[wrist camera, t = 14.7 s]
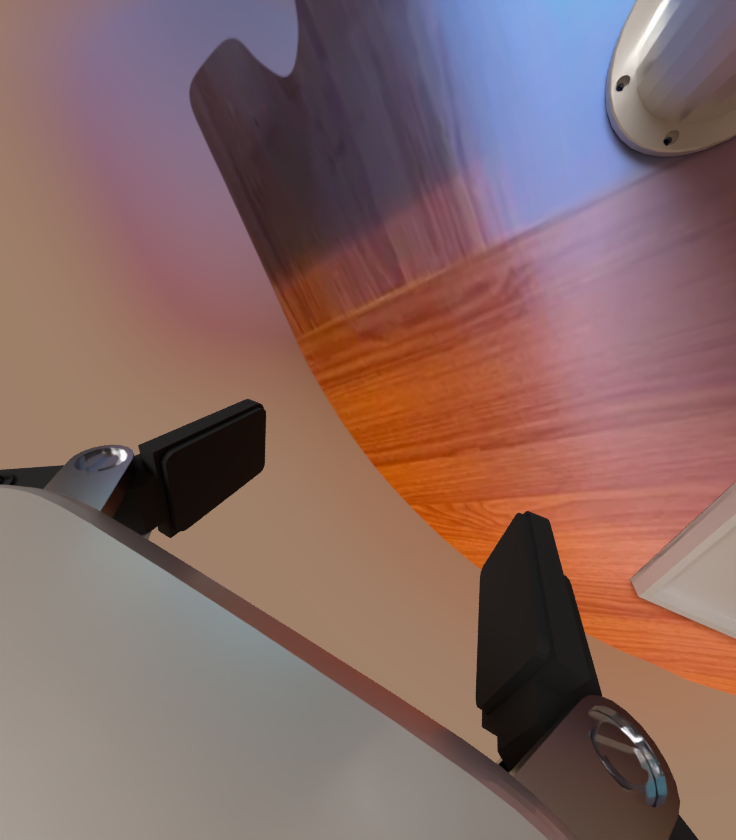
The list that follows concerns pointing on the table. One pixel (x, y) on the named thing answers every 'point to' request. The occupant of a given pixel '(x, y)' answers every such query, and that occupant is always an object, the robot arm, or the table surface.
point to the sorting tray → (698, 569)
